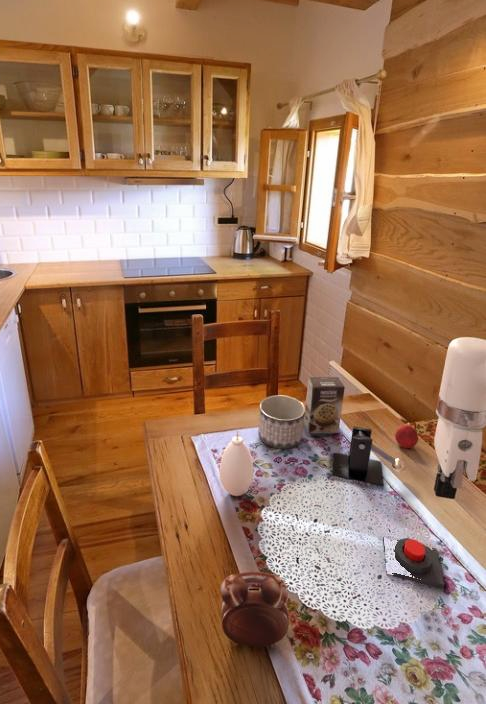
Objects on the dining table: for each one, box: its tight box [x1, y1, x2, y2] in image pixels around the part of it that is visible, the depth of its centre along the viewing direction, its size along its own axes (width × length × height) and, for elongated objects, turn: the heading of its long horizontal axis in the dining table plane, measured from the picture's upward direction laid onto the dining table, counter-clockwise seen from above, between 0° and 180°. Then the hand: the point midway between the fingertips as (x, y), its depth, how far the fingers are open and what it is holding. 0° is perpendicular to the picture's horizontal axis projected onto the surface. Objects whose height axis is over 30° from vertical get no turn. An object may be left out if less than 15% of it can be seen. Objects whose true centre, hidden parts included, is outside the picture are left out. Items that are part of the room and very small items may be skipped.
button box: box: [382, 537, 445, 590], centre depth 80 cm, size 10×8×3 cm
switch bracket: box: [331, 426, 384, 487], centre depth 103 cm, size 12×9×12 cm
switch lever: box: [355, 431, 407, 473], centre depth 101 cm, size 14×3×3 cm, turn 73°
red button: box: [404, 539, 425, 562], centre depth 79 cm, size 4×4×2 cm
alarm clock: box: [220, 571, 289, 648], centre depth 65 cm, size 11×5×15 cm, turn 88°
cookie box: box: [304, 376, 346, 434], centre depth 119 cm, size 9×6×16 cm
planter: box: [257, 394, 305, 450], centre depth 116 cm, size 13×13×10 cm
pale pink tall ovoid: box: [219, 429, 255, 497], centre depth 95 cm, size 8×8×18 cm
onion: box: [394, 422, 419, 449], centre depth 112 cm, size 6×6×8 cm
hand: (443, 494), depth 75 cm, fingers closed
